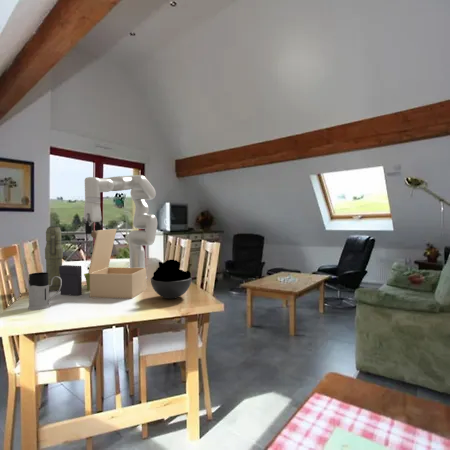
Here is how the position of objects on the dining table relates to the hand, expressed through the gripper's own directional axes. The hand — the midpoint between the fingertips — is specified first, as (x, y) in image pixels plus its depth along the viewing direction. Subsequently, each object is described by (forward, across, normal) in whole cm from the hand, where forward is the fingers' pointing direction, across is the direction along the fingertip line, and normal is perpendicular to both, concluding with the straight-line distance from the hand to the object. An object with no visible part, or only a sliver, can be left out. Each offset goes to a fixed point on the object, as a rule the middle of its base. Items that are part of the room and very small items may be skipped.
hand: (93, 233), depth 170 cm
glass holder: (+32, +29, -8) cm, 43 cm away
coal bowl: (+32, +8, +44) cm, 55 cm away
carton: (+32, +1, +14) cm, 35 cm away
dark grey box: (+32, +6, -10) cm, 34 cm away
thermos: (+32, -4, -26) cm, 41 cm away
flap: (+9, +1, +6) cm, 11 cm away
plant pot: (+32, -7, -5) cm, 33 cm away
